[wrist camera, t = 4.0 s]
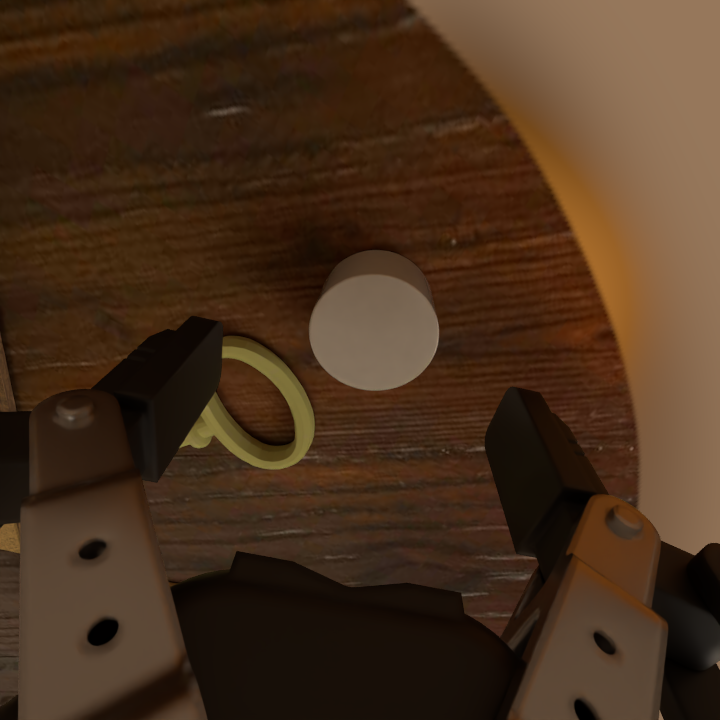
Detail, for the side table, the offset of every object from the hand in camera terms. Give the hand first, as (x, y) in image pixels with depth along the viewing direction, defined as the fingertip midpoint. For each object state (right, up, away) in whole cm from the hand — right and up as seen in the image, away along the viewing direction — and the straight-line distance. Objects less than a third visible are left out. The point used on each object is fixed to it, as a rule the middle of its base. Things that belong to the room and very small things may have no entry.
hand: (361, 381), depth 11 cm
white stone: (+1, +3, +5) cm, 6 cm away
